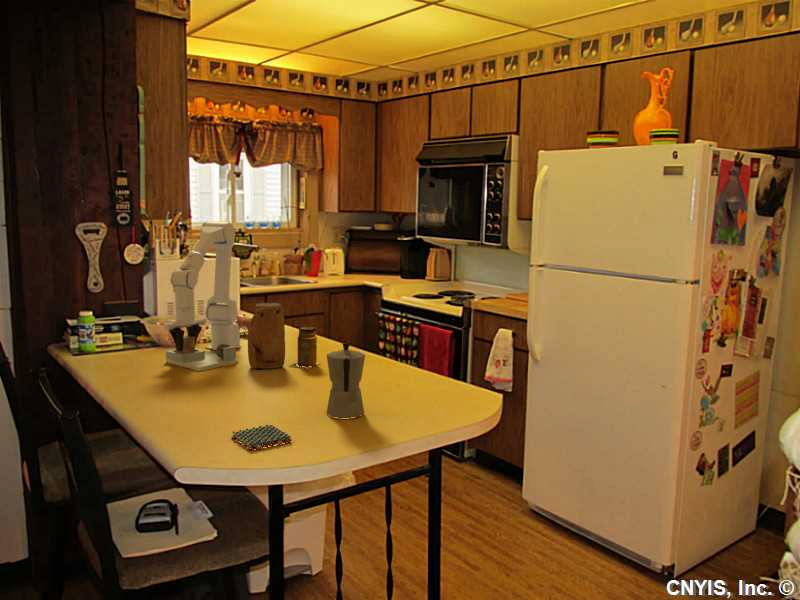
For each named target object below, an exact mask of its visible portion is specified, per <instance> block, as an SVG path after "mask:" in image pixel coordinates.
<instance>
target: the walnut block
mask: <svg viewBox="0 0 800 600" xmlns="http://www.w3.org/2000/svg"><path fill="white" fill-rule="evenodd" d="M195 348H196V345H195V337H193V336H188V334H184V336H183V350H182V351H177V349H176V348H175V349H176V352H177V353H181V354H188V353H193V352H195Z"/></svg>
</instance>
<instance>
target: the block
mask: <svg viewBox="0 0 800 600" xmlns="http://www.w3.org/2000/svg"><path fill="white" fill-rule="evenodd" d="M251 318H252V320H251V323H250V325H249V327H248V330H247V336H248V337H247V354H248V355H247V356H248V359H247V360H248V364H249V366H250V368H251V369H256V370H257V369H264V370H266V369H278V368H281V367H284V365H285V361H286V329H285V328H286V327H285V317H284V308H283V306H282V305H281V304H280V303H277V302H271V303H270V302H269V303H267V302H260V303H256V304H255V306H254V314H253V316H252V317H251Z"/></svg>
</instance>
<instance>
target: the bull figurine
mask: <svg viewBox="0 0 800 600" xmlns="http://www.w3.org/2000/svg"><path fill="white" fill-rule="evenodd" d="M242 313H243V312H241V311H239V312H238V314H237V318H236V323H237V324H238V326H239V330H240V331H241V329H242V330H243V331H244V330H245V331H248V327H249V325H250V323H251V320H252V317H247V316H246V314H245V313H243V314H242ZM246 337H247V338H248V335H247V336H246Z"/></svg>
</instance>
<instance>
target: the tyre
mask: <svg viewBox="0 0 800 600" xmlns="http://www.w3.org/2000/svg"><path fill="white" fill-rule="evenodd" d="M226 347H231V346H230V345H227V344H220V345H219V346H218V347H217V350H215V351H216V352H215V354H217V356H218V357H219V358H223V348H226Z"/></svg>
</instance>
